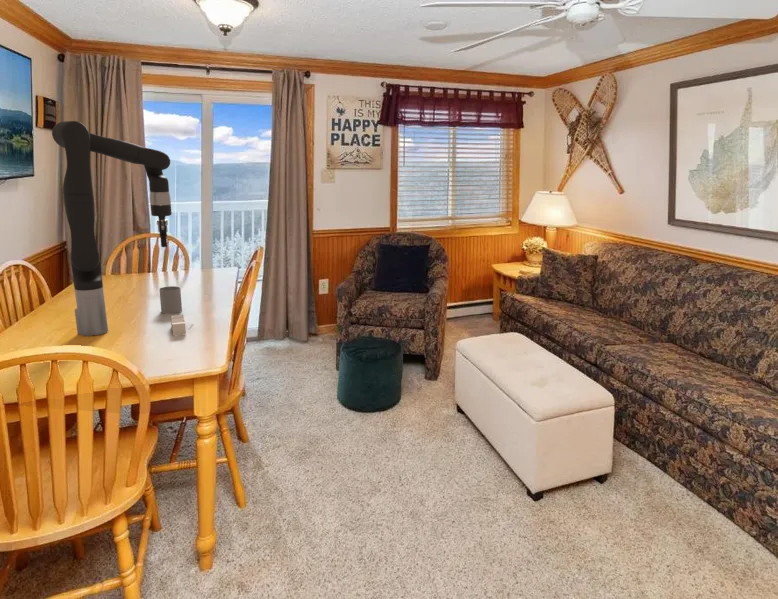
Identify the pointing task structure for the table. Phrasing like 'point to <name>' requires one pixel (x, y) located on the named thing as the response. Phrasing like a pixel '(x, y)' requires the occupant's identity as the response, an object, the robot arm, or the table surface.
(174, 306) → the cup
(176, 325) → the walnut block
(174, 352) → the table surface
